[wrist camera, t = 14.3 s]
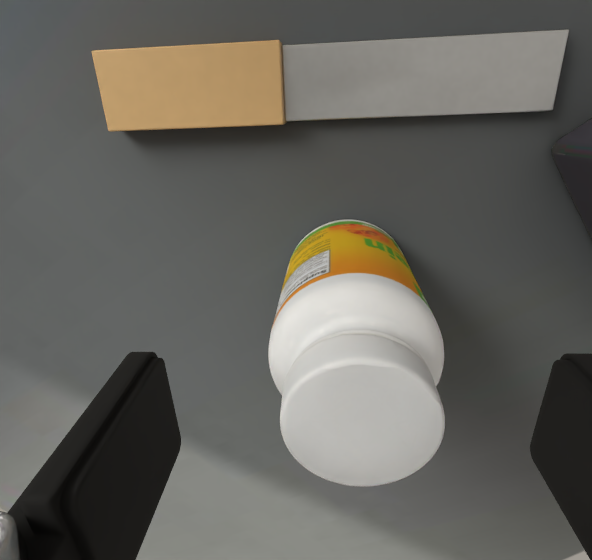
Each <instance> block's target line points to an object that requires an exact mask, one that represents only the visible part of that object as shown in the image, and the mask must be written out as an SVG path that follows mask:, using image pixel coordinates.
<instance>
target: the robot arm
mask: <svg viewBox="0 0 592 560" xmlns="http://www.w3.org/2000/svg"><path fill="white" fill-rule="evenodd" d="M180 446H181V436H180V432H179V427H178V422H177V418H176V413H175V409H174V404H173V400H172V395H171V391H170V386H169V382H168V377H167V372H166V368H165V363H164V360H163V359H162V358H158V357H157V355H156V354H155V353H154V352H131V353H129V354H128V355H127V356H126V357H125V359H124V360H123V361H122V363H121V364H120V365H119V367H118V368H117V369H116V371H115V372H114V373H113V375H112V376H111V377H110V378H109V380H108V381H107V382H106V384H105V385H104V386H103V388H102V389H101V390H100V392H99V393H98V394H97V396H96V397H95V398H94V400H93V401H92V402H91V404H90V405H89V406H88V407H87V409H86V410H85V411H84V413H83V414H82V415H81V417H80V418H79V419H78V421H77V422H76V423H75V425H74V426H73V427H72V429H71V430H70V431H69V432H68V434H67V435H66V436H65V438H64V439H63V440H62V442H61V443H60V444H59V446H58V447H57V448H56V450H55V451H54V452H53V454H52V455H51V456H50V457H49V459H48V460H47V461H46V463H45V464H44V465H43V467H42V468H41V469H40V471H39V472H38V473H37V475H36V476H35V477H34V479H33V480H32V481H31V483H30V484H29V485H28V486H27V488H26V489H25V490H24V492H23V493H22V494H21V496H20V497H19V498H18V500H17V501H16V502H15V504H14V505H13V506H12V508H11V509H10V510H9V512H8V513H6V512H0V560H135V559H136V557H137V555H138V552H139V550H140V547H141V545H142V542H143V540H144V537H145V535H146V532H147V530H148V527H149V525H150V523H151V520H152V518H153V515H154V513H155V510H156V508H157V505H158V503H159V500H160V498H161V495H162V493H163V491H164V488H165V486H166V483H167V481H168V478H169V476H170V473H171V471H172V468H173V466H174V463H175V461H176V458H177V456H178V454H179V451H180ZM530 451H531V456H532V459H533V461H534V463H535V464H536V466H537V468H538V470H539V471H540V473H541V475H542V477H543V478H544V480H545V482H546V484H547V485H548V487H549V489H550V490H551V492H552V494H553V496H554V497H555V499H556V501H557V503H558V504H559V506H560V508H561V510H562V511H563V513H564V515H565V517H566V518H567V520H568V522H569V523H570V525H571V527H572V529H573V530H574V532H575V534H576V536H577V537H578V539H579V541H580V543H581V544H582V546H583V548H584V549H585V551H586V552H587V555H588V556H589V558H590V560H592V354H564V355H563V356H562V357H561V359H560V360H556V361H555V362H554V364H553V366H552V370H551V373H550V377H549V380H548V384H547V387H546V391H545V394H544V398H543V401H542V405H541V408H540V412H539V415H538V419H537V422H536V426H535V429H534V433H533V436H532V440H531V444H530Z"/></svg>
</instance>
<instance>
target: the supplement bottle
mask: <svg viewBox="0 0 592 560" xmlns="http://www.w3.org/2000/svg"><path fill="white" fill-rule="evenodd" d="M268 358H269V366H270V371H271V375H272V377H273V380H274V382H275V385H276V386H277V388H278V390H279V392H280V393H281V395H282V404H281V413H280V428H281V432H282V437H283V439H284V442H285V444H286V446H287V448H288V450H289V451H290V453H291V454H292V455H293V457H294V458H295V459H296V460H297V461H298V462H299V463H300V464H301V465H302V466H304V467H305V468H306V469H308V470H309V471H310V472H312V473H314V474H316V475H318V476H320V477H322V478H324V479H326V480H329V481H332V482H335V483H339V484H344V485H350V486H376V485H382V484H388V483H391V482H395V481H397V480H400V479H403V478H405V477H407V476H409V475H411V474H413V473H415V472H416V471H417V470H419V469H420V468H422V467H423V466H424V465H425V464H426V463H427V462H428V461H429V460H430V459H431V458H432V457H433V456H434V454H435V453H436V451H437V449H438V448H439V446H440V444H441V441H442V438H443V435H444V430H445V415H444V409H443V405H442V402H441V399H440V396H439V393H438V390H437V388H436V386H437V384H438V383H439V380H440V377H441V374H442V370H443V364H444V345H443V339H442V335H441V332H440V329H439V327H438V324H437V322H436V319H435V317H434V315H433V313H432V311H431V309H430V307H429V305H428V303H427V301H426V299H425V297H424V295H423V293H422V291H421V289H420V287H419V285H418V283H417V281H416V279H415V277H414V275H413V273H412V271H411V269H410V267H409V265H408V263H407V261H406V259H405V257H404V255H403V253H402V251H401V249H400V248H399V246H398V245H397V243H396V242H395V241H394V239H393V238H392V237H391V236H390V235H389V234H388V233H386V232H385V231H384V230H382V229H381V228H379V227H377V226H375V225H373V224H370V223H367V222H364V221H360V220H351V219H346V220H337V221H333V222H329V223H326V224H324V225H322V226H320V227H318V228H316V229H314V230H313V231H311V232H310V233H309V234H307V235H306V236H305V237H304V238H303V239H302V240H301V242H300V243H299V244H298V245H297V247H296V249H295V250H294V252H293V255H292V257H291V259H290V262H289V265H288V269H287V272H286V276H285V280H284V284H283V288H282V292H281V296H280V300H279V304H278V308H277V311H276V315H275V319H274V323H273V326H272V330H271V335H270V342H269V352H268Z"/></svg>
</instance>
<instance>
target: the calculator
mask: <svg viewBox="0 0 592 560" xmlns="http://www.w3.org/2000/svg"><path fill="white" fill-rule="evenodd" d="M552 156H553V159H554V161H555V163H556V165H557V168H558V170H559V172H560V174H561V176H562V178H563V180H564V182H565V184H566V187H567V189H568V191H569V193H570V195H571V197H572V199H573V201H574V203H575V205H576V208H577V210H578V212H579V214H580V216H581V218H582V220H583V222H584V224H585V226H586V229H587V231H588V233H589V235H590V237H591V239H592V119H590V120H589V121H587V122H586V123H584V124H582V125H581V126H579V127H578V128H576V129H575V130H573V131H571V132H570V133H568V134H567V135H565V136H564V137H562V138H561V139H559V140H558V141H557V142H556V143H555V144H554V146H553V148H552Z"/></svg>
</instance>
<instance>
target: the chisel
mask: <svg viewBox="0 0 592 560" xmlns="http://www.w3.org/2000/svg"><path fill="white" fill-rule="evenodd" d="M568 34H569V29H562V30H544V31H526V32H508V33H490V34H472V35H454V36H436V37H418V38H401V39H383V40H365V41H347V42H329V43H311V44H293V45H282V43H281V42H280V41H279V40H268V41H251V42H233V43H216V44H198V45H181V46H163V47H146V48H128V49H111V50H93V51H92V56H93V61H94V65H95V70H96V75H97V79H98V84H99V89H100V94H101V98H102V103H103V108H104V112H105V117H106V122H107V126H108V130H109V131H135V130H161V129H187V128H213V127H239V126H265V125H283V124H286V121H311V120H337V119H362V118H388V117H413V116H439V115H464V114H490V113H516V112H541V111H553V108H554V103H555V98H556V93H557V88H558V83H559V78H560V74H561V69H562V64H563V59H564V54H565V49H566V44H567V39H568Z"/></svg>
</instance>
